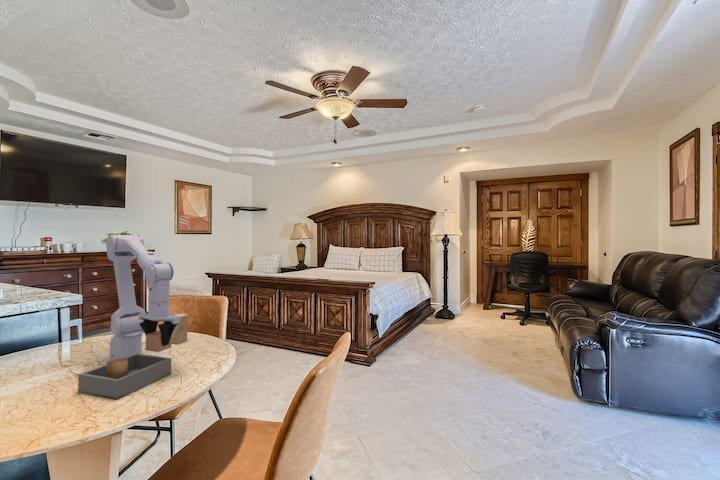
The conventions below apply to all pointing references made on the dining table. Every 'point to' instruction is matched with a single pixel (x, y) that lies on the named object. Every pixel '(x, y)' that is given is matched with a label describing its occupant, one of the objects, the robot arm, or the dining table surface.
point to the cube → (155, 342)
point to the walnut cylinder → (117, 368)
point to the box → (180, 330)
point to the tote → (125, 377)
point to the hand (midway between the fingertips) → (158, 344)
